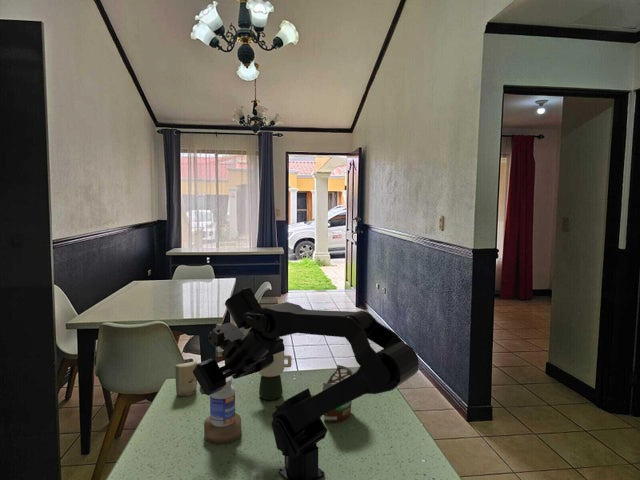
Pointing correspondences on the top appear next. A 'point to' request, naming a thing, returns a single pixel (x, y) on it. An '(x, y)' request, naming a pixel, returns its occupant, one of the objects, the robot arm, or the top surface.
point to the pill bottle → (223, 405)
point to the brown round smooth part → (222, 431)
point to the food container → (344, 410)
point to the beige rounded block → (185, 379)
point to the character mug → (273, 377)
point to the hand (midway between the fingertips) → (217, 384)
